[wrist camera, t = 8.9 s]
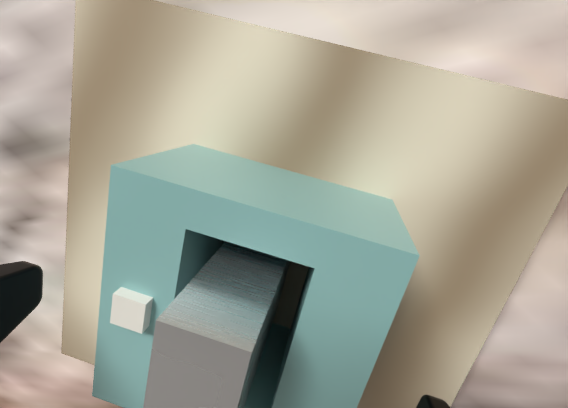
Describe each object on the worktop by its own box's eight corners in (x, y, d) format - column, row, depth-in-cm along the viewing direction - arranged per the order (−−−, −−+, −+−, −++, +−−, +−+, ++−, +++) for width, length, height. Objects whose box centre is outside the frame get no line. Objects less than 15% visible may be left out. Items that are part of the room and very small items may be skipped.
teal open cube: (332, 364, 12) (325, 495, 8) (167, 309, 13) (83, 405, 9) (392, 199, 10) (422, 262, 6) (193, 143, 11) (100, 167, 7)
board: (571, 108, 10) (607, 109, 9) (405, 441, 14) (412, 478, 13) (109, -3, 11) (76, -19, 10) (86, 331, 16) (61, 353, 14)
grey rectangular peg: (301, 223, 11) (252, 352, 5) (276, 310, 12) (214, 496, 6) (254, 209, 11) (156, 319, 5) (233, 296, 12) (134, 466, 6)
